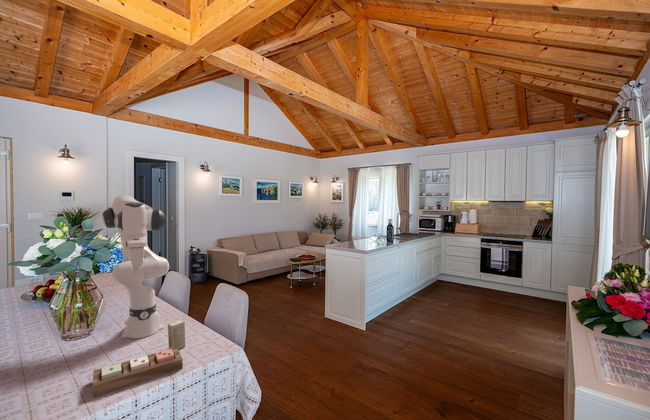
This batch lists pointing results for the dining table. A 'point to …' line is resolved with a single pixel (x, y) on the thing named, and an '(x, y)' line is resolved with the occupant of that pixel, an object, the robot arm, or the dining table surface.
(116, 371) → the tile
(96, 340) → the dining table surface
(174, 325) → the skincare box
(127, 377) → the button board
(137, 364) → the tile
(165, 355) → the three-pip tile
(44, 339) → the dining table surface
